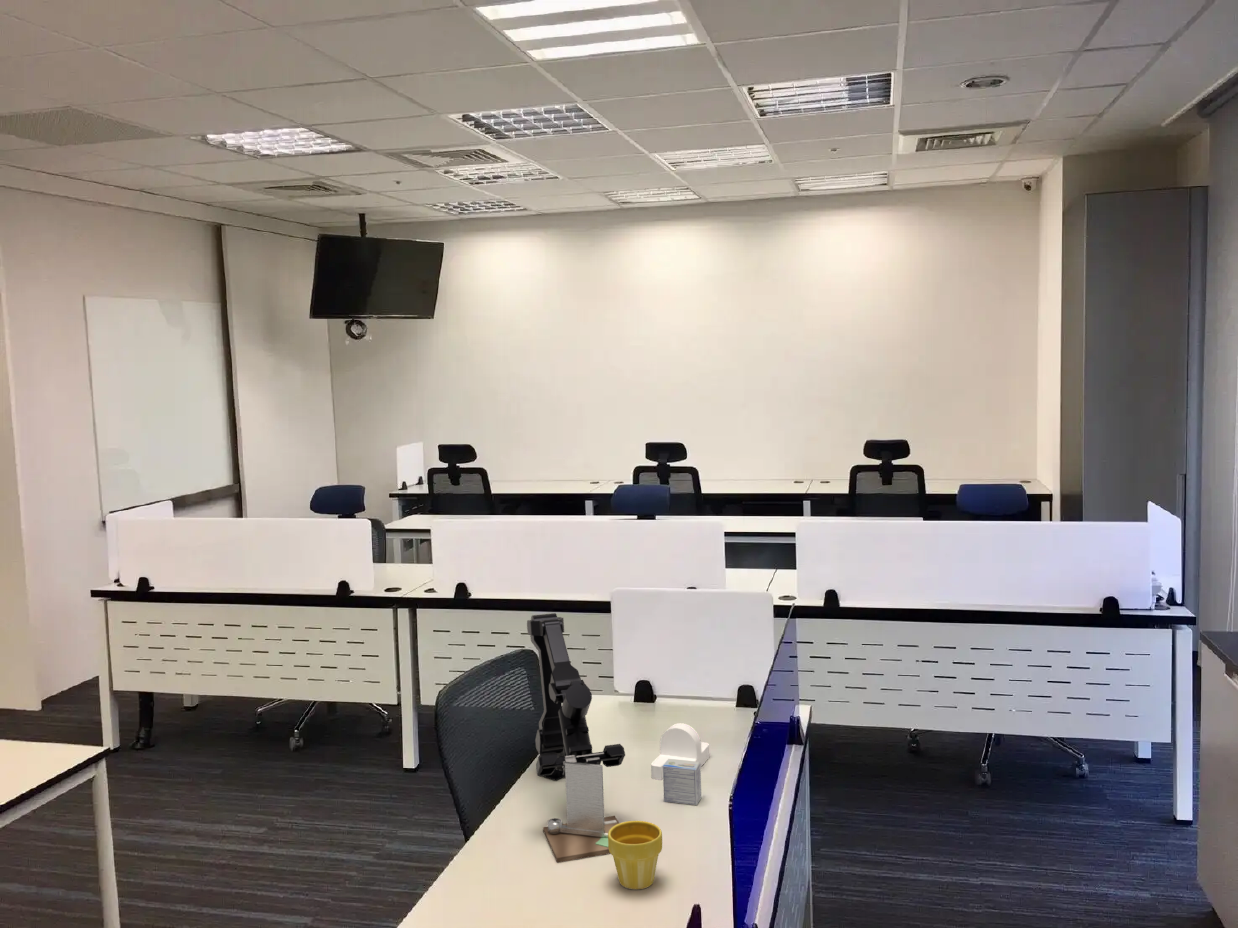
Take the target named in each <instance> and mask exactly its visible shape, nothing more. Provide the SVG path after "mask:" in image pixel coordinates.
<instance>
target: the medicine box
mask: <svg viewBox="0 0 1238 928" xmlns="http://www.w3.org/2000/svg"><path fill="white" fill-rule="evenodd" d="M701 769H702V768H700V762H695V761H687V760H676V759H668V760H667V761H666V762H665V764H664V765H663V779H662V783H663V785H662V786H663V802H664V803H666V802H667V803H674V804H676V803H677V804H684V805H692V806H693V805H694V806H698V804H699V802H700V801H701V799H702V775H701V774H702V773H701V771H702V770H701Z"/></svg>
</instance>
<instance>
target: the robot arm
mask: <svg viewBox="0 0 1238 928" xmlns="http://www.w3.org/2000/svg"><path fill="white" fill-rule="evenodd" d="M530 617H531V618H530V619H528V620H527V621H526V629H527V634H528V636H530V641H531V643H532V644H533V646H534V647H535V649H536V650H537V652H538V662H539V672H540V682H541V683H540V684H541V692H542V693H541V694H542V703H543V712H542V715H541V717H540V720H539V721H538V729H537V731H536V736H535V739H534V742H535V748H536V751H537V752H538V757H537V760H536V763H535V770H536V776H538V777H544V778H547V779H548V780H549V779H550V780H553V781H558V780H560V779H562V778H564V777H566V776H565V763H566V762H574V763H585V764H595V765H602V766H605V767H606V768H610V767H611V768H612V767H619V766H621V765H622V763H623V761H624V758H625V757H626V752H625V748H624V746H623V745H622V744H621V743H617V744H616V743H614V744H608V745H604V747H603V749H602V751H599V752H598V751H597V752H593V745H592V744H591V739H590V737H591V736H590V734H589V731H590V730H589V726H588V724H587V717H586V716H587V715H588V711H589V709H590V706H591V702H592V699H593V695H592V691H591V689H590V688H589V687H588V686H587V684H586V683H585V682H584V680H583V679H581V675H580V672H579V670H578V669H577V668H576V667H574V666H573V665H572V664H571V659H570V656H569V653H568V649H567V644H566V641H565V638H564V633H565V625H564V624H565V623H564V617H561V616H559V617H558V615H557V613H556V612H554V613H544V614H543V613H542V614H532V615H531V616H530ZM601 763H602V764H601Z"/></svg>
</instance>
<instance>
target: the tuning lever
mask: <svg viewBox="0 0 1238 928" xmlns="http://www.w3.org/2000/svg"><path fill="white" fill-rule="evenodd" d="M603 766H604V765H603V764H600V765H595V764H585V763H574V762H566V763H565V776H564V777H565V797H566V798H565V799H566V823H567V826H566V825H562V824H563V820H562V819H560V818H559V817H558V818H555V817H553V818H550V819H548V820H547V826H548V832H549V833H551V834H558V833H560V832H563V833H572V834H580V835H588V836H597V837H604V836H607V837H608V833H605V824H604V817H605V801H604V771H603V770H604V769H603Z"/></svg>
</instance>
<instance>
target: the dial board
mask: <svg viewBox="0 0 1238 928" xmlns="http://www.w3.org/2000/svg"><path fill="white" fill-rule="evenodd" d="M619 823H620V822H619V820H618V818H617V817H616V815H610V816H604V824H605V833H608V832H609V830H610V829H611V828H612V827H613V826H615V825H617V824H619ZM562 825H566V826H567V822H566V823H562ZM542 832H543V834H544V837H545V839H546V841H547V844H548V845H549V847H550V849H551V853H552V854H553V856H554V859H555V861H556V863H558V864H559V863H564V862H569V861H570V862H571V861H575V860H580V859H581V860H582V859H587V858H593V857H598V856H604V855H609V854H610V855H611V853H610V852H609V847H608V837H607V836H604V837H597V836H588V835H580V834H572V833H563V832H560V833H558V834H551V833H549V832H548V825H546V826H543V827H542Z"/></svg>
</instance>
